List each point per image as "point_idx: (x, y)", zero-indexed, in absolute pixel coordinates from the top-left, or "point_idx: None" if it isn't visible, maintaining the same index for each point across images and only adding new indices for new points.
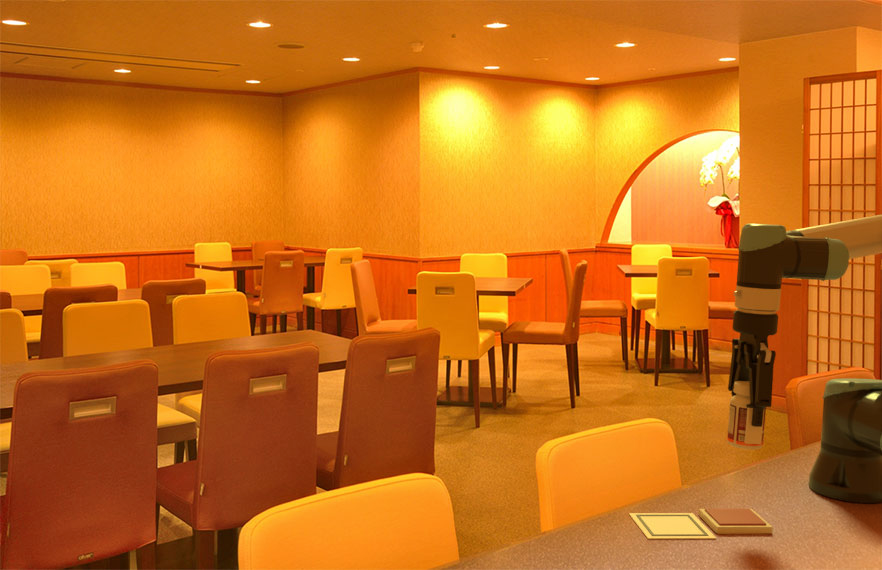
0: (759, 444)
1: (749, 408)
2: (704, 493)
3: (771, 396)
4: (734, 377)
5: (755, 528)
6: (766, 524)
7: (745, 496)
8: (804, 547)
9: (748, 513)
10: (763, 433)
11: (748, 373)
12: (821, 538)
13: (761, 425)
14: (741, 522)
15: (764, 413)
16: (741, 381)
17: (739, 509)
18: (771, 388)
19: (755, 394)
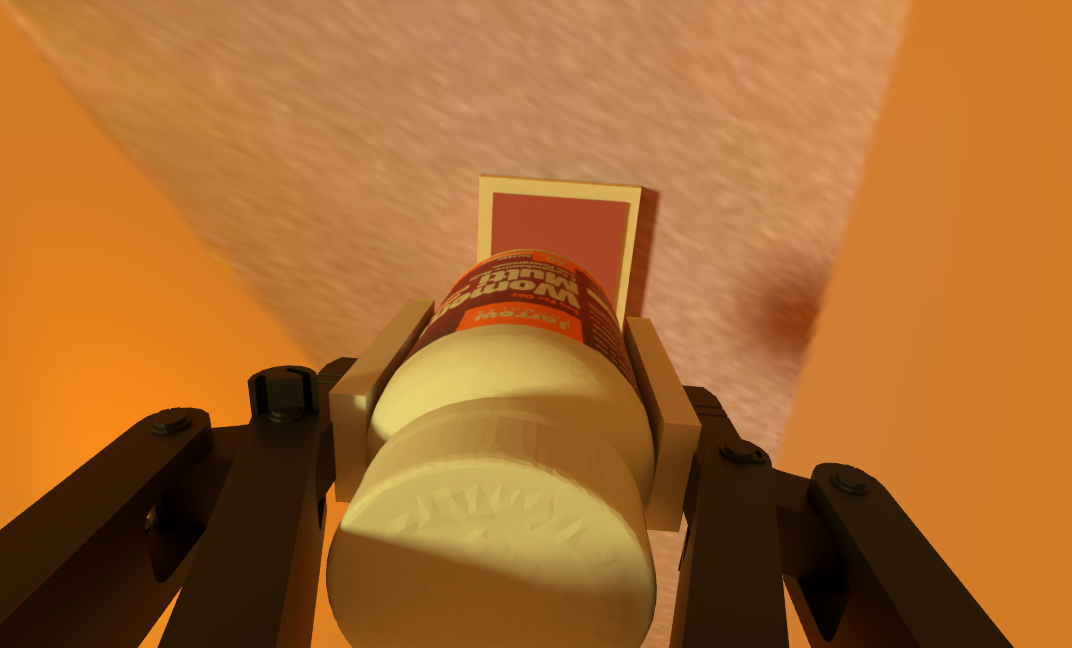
0: (611, 304)
1: (676, 523)
2: (283, 235)
3: (927, 543)
4: (145, 603)
5: (633, 240)
6: (620, 197)
7: (299, 101)
8: (756, 139)
9: (535, 216)
10: (592, 290)
11: (289, 645)
12: (702, 33)
13: (709, 394)
14: (607, 275)
15: (611, 349)
16: (363, 623)
17: (498, 229)
18: (982, 622)
19: (813, 645)
